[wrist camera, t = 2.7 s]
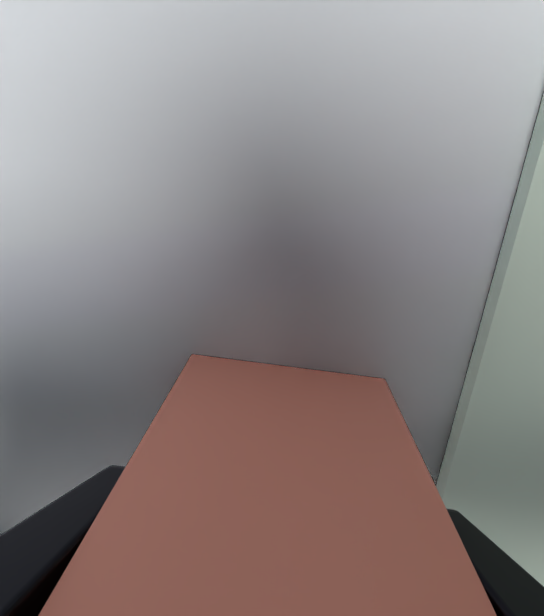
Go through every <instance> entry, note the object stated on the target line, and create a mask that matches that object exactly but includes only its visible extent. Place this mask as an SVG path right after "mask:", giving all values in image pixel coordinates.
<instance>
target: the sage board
mask: <svg viewBox="0 0 544 616" xmlns="http://www.w3.org/2000/svg"><path fill="white" fill-rule="evenodd" d="M436 488H437V490H438V492H439V494H440V496H441V499H442V501H443V503H444V505H445V507H446V508H447V509H454V510H457V511H458V512H460V513H461V514H462V515H463V516H464V517H465V518H467V519H468V520H469V521H470V522H471V523H472V524H473V525H475V526H476V527H477V528H478V529H479V530H480V531H481V532H482V533H484V534H485V535H486V536H487V537H488V538H489V539H490V540H492V541H493V542H494V543H495V544H496V545H497V546H498V547H500V548H501V549H502V550H503V551H504V552H505V553H506V554H507V555H509V556H510V557H511V558H512V559H513V560H514V561H515V562H517V563H518V564H519V565H520V566H521V567H522V568H523V569H524V570H526V571H527V572H528V573H529V574H530V575H531V576H532V577H534V578H535V579H536V580H537V581H538V582H539V583H540V584H541V585H543V586H544V94H543V97H542V101H541V105H540V108H539V112H538V116H537V119H536V123H535V127H534V130H533V134H532V138H531V141H530V145H529V148H528V152H527V156H526V159H525V163H524V167H523V170H522V174H521V178H520V181H519V185H518V189H517V192H516V196H515V199H514V203H513V207H512V210H511V214H510V218H509V221H508V225H507V229H506V232H505V236H504V240H503V243H502V247H501V251H500V254H499V258H498V261H497V265H496V269H495V272H494V276H493V280H492V283H491V287H490V291H489V294H488V298H487V302H486V305H485V309H484V312H483V316H482V320H481V323H480V327H479V331H478V334H477V338H476V342H475V345H474V349H473V353H472V356H471V360H470V363H469V367H468V371H467V374H466V378H465V382H464V385H463V389H462V393H461V396H460V400H459V404H458V407H457V411H456V414H455V418H454V422H453V425H452V429H451V433H450V436H449V440H448V444H447V447H446V451H445V455H444V458H443V462H442V465H441V469H440V473H439V476H438V480H437V484H436Z"/></svg>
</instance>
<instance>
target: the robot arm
mask: <svg viewBox="0 0 544 616" xmlns="http://www.w3.org/2000/svg"><path fill="white" fill-rule="evenodd" d="M124 469H125V466H117V465H112V466H109V467H107V468H106V469H104V470H102V471H101V472H99V473H98V474H96V475H94V476H93V477H91V478H90V479H88V480H87V481H85V482H83V483H82V484H80V485H79V486H77V487H76V488H74V489H72V490H71V491H69V492H68V493H66V494H65V495H63V496H61V497H60V498H58V499H57V500H55V501H54V502H52V503H50V504H49V505H47V506H46V507H44V508H43V509H41V510H39V511H38V512H36V513H35V514H33V515H31V516H30V517H28V518H27V519H25V520H24V521H22V522H20V523H19V524H17V525H16V526H14V527H13V528H11V529H9V530H8V531H6V532H5V533H3V534H2V535H0V616H38V615H39V614H40V612H41V610H42V609H43V607H44V605H45V603H46V602H47V600H48V598H49V597H50V595H51V593H52V591H53V590H54V588H55V586H56V585H57V583H58V581H59V580H60V578H61V576H62V574H63V573H64V571H65V569H66V568H67V566H68V564H69V563H70V561H71V559H72V557H73V556H74V554H75V552H76V551H77V549H78V547H79V545H80V544H81V542H82V540H83V539H84V537H85V535H86V534H87V532H88V530H89V528H90V527H91V525H92V523H93V522H94V520H95V518H96V516H97V515H98V513H99V511H100V510H101V508H102V506H103V505H104V503H105V501H106V499H107V498H108V496H109V494H110V493H111V491H112V489H113V488H114V486H115V484H116V482H117V481H118V479H119V477H120V476H121V474H122V472H123V470H124ZM446 509H447V508H446ZM447 511H448V513H449V515H450V518H451V520H452V522H453V524H454V526H455V528H456V530H457V532H458V534H459V537H460V539H461V541H462V543H463V545H464V547H465V549H466V551H467V553H468V556H469V558H470V560H471V562H472V564H473V566H474V568H475V570H476V572H477V575H478V577H479V579H480V581H481V583H482V585H483V587H484V589H485V592H486V594H487V596H488V598H489V600H490V602H491V604H492V606H493V608H494V611H495V613H496V615H497V616H544V586H543V585H541V584H540V583H539V582H538V581H537V580H536V579H535V578H534V577H532V576H531V575H530V574H529V573H528V572H527V571H526V570H524V569H523V568H522V567H521V566H520V565H519V564H518V563H517V562H515V561H514V560H513V559H512V558H511V557H510V556H509V555H507V554H506V553H505V552H504V551H503V550H502V549H501V548H500V547H498V546H497V545H496V544H495V543H494V542H493V541H492V540H490V539H489V538H488V537H487V536H486V535H485V534H484V533H482V532H481V531H480V530H479V529H478V528H477V527H476V526H475V525H473V524H472V523H471V522H470V521H469V520H468V519H467V518H465V517H464V516H463V515H462V514H461V513H460V512H458V511H457V510H454V509H447Z"/></svg>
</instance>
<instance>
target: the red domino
mask: <svg viewBox="0 0 544 616" xmlns="http://www.w3.org/2000/svg"><path fill="white" fill-rule="evenodd" d="M38 616H497V615H496V613H495V611H494V608H493V606H492V604H491V602H490V600H489V598H488V596H487V594H486V592H485V589H484V587H483V585H482V583H481V581H480V579H479V577H478V575H477V572H476V570H475V568H474V566H473V564H472V562H471V560H470V558H469V556H468V553H467V551H466V549H465V547H464V545H463V543H462V541H461V539H460V537H459V534H458V532H457V530H456V528H455V526H454V524H453V522H452V520H451V518H450V515H449V513H448V511H447V509H446V507H445V505H444V503H443V501H442V499H441V496H440V494H439V492H438V490H437V488H436V486H435V484H434V482H433V480H432V477H431V475H430V473H429V471H428V469H427V467H426V465H425V463H424V461H423V458H422V456H421V454H420V452H419V450H418V448H417V446H416V444H415V441H414V439H413V437H412V435H411V433H410V431H409V429H408V427H407V425H406V422H405V420H404V418H403V416H402V414H401V412H400V410H399V408H398V406H397V403H396V401H395V399H394V397H393V395H392V393H391V391H390V389H389V387H388V384H387V382H386V380H385V379H382V378H375V377H367V376H359V375H351V374H343V373H336V372H328V371H320V370H312V369H304V368H296V367H289V366H281V365H273V364H265V363H257V362H249V361H242V360H234V359H226V358H218V357H210V356H202V355H195V354H192V355H191V356H190V358H189V360H188V361H187V363H186V365H185V367H184V368H183V370H182V372H181V373H180V375H179V377H178V378H177V380H176V382H175V384H174V385H173V387H172V389H171V390H170V392H169V394H168V395H167V397H166V399H165V401H164V402H163V404H162V406H161V407H160V409H159V411H158V413H157V414H156V416H155V418H154V419H153V421H152V423H151V424H150V426H149V428H148V430H147V431H146V433H145V435H144V436H143V438H142V440H141V442H140V443H139V445H138V447H137V448H136V450H135V452H134V453H133V455H132V457H131V459H130V460H129V462H128V464H127V465H126V467H125V469H124V470H123V472H122V474H121V476H120V477H119V479H118V481H117V482H116V484H115V486H114V488H113V489H112V491H111V493H110V494H109V496H108V498H107V499H106V501H105V503H104V505H103V506H102V508H101V510H100V511H99V513H98V515H97V516H96V518H95V520H94V522H93V523H92V525H91V527H90V528H89V530H88V532H87V534H86V535H85V537H84V539H83V540H82V542H81V544H80V545H79V547H78V549H77V551H76V552H75V554H74V556H73V557H72V559H71V561H70V563H69V564H68V566H67V568H66V569H65V571H64V573H63V574H62V576H61V578H60V580H59V581H58V583H57V585H56V586H55V588H54V590H53V591H52V593H51V595H50V597H49V598H48V600H47V602H46V603H45V605H44V607H43V609H42V610H41V612H40V614H39V615H38Z"/></svg>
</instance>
